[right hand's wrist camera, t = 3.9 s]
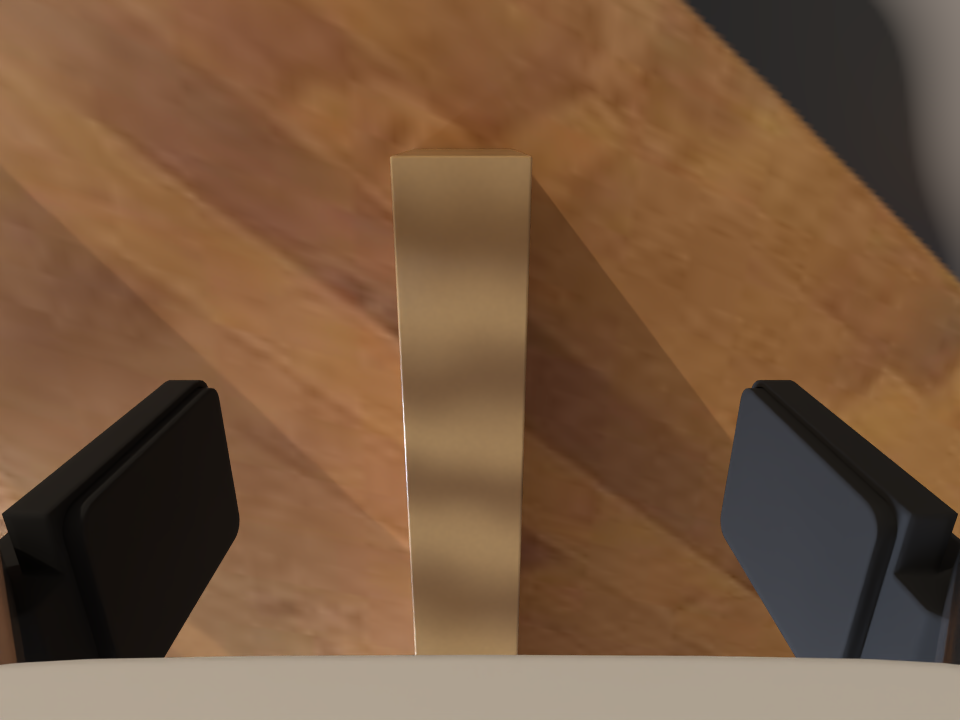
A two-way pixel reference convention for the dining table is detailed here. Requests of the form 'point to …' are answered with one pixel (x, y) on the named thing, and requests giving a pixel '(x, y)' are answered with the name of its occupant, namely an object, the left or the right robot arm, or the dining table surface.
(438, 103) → the dining table surface
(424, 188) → the post
